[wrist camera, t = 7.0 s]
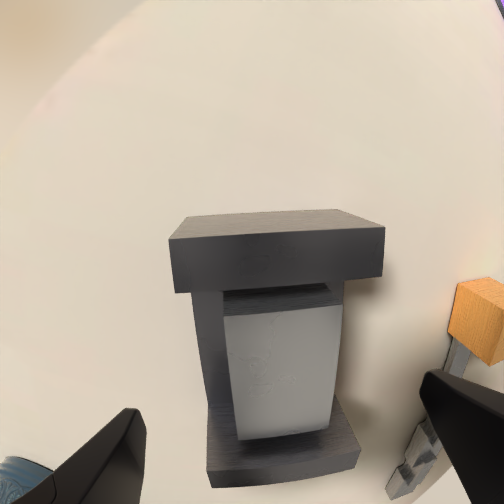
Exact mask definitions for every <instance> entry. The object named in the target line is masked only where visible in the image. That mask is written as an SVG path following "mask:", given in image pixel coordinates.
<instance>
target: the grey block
mask: <svg viewBox="0 0 504 504" xmlns="http://www.w3.org/2000/svg"><path fill="white" fill-rule="evenodd" d="M342 314H343V304H342V302H341V301H340V300H339V299H338V298H337V297H336V296H335V294H334V293H333V292H332V291H331V290H330V289H329V288H328V286H327V285H326V284H325V283H324V282H323V283H313V284H302V285H290V286H278V287H265V288H252V289H238V290H223V318H224V328H225V337H226V347H227V355H228V364H229V373H230V381H231V389H232V397H233V405H234V412H235V420H236V427H237V434H238V440H249V439H260V438H269V437H277V436H284V435H291V434H298V433H304V432H309V431H315V430H320V429H325V428H328V426H329V420H330V414H331V408H332V402H333V395H334V388H335V380H336V373H337V365H338V356H339V347H340V337H341V326H342Z"/></svg>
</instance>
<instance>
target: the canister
mask: <svg viewBox="0 0 504 504" xmlns="http://www.w3.org/2000/svg"><path fill="white" fill-rule="evenodd" d="M51 473H52V474H53V472H52V471H50V470H48V469H46V468H44V467H42V466H40V465H37V464H35V463H33V462H30V461H28V460H25V459H22V458H18V457H7V458H5V460H4V461H3V462H2V463H0V504H10V503H11V502H13V501H15V500H16V499H18V498H19V497H21V496H22V495H24V494H25V493H27V492H28V491H30V490H31V489H33V488H34V487H35V486H36V485H38V484H39V483H40V482H41V481H43V480H44V479H45V478H46V477H47V476H49V475H50V474H51Z"/></svg>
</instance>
